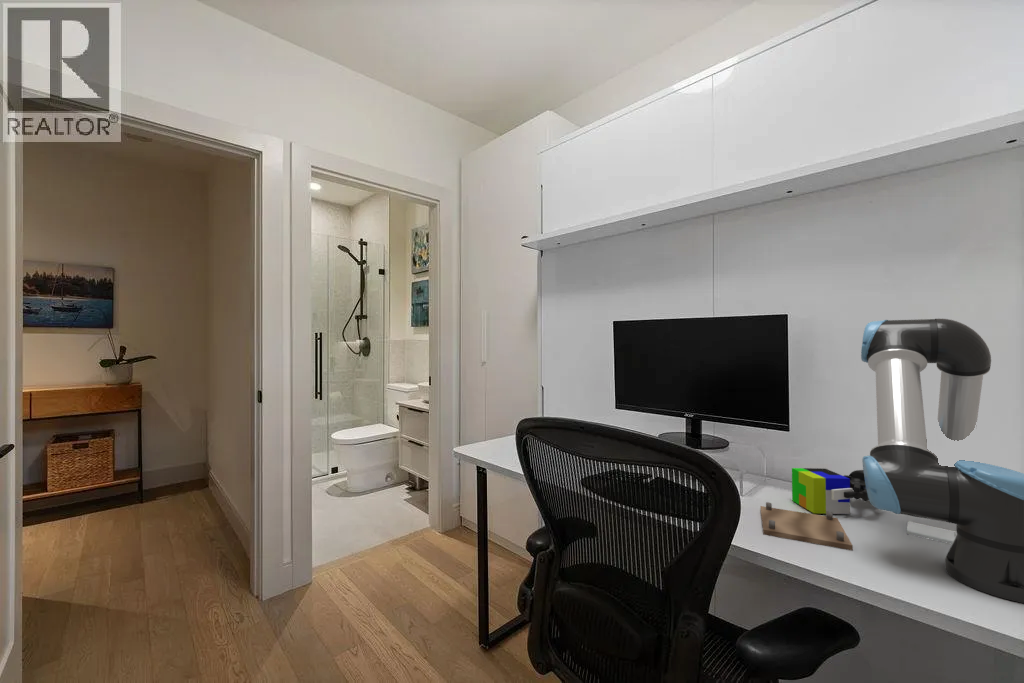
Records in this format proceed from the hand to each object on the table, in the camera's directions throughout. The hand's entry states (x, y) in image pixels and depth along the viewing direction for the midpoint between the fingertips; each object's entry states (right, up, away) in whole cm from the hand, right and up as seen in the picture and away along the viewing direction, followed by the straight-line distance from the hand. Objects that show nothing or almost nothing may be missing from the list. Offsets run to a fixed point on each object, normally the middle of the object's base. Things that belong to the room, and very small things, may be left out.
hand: (811, 487), depth 123 cm
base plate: (-12, -6, -13) cm, 19 cm away
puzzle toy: (+3, -6, +1) cm, 7 cm away
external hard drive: (+20, -7, -18) cm, 28 cm away
